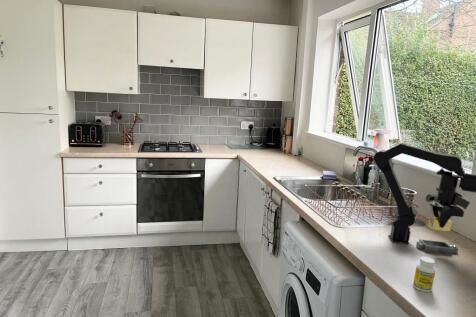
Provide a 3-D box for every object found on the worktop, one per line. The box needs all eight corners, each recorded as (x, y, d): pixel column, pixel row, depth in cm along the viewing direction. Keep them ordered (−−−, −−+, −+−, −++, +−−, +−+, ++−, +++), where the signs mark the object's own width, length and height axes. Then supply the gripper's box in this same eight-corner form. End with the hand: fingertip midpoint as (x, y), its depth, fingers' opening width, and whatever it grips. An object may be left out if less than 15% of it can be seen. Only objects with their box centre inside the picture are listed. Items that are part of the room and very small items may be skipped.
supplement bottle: (428, 284, 116) (433, 257, 114) (434, 293, 110) (440, 265, 109) (410, 281, 116) (415, 254, 114) (415, 290, 111) (421, 262, 109)
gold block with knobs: (431, 229, 140) (434, 218, 139) (427, 225, 144) (430, 215, 143) (450, 231, 140) (452, 220, 139) (445, 227, 143) (448, 216, 143)
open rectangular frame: (420, 251, 141) (422, 245, 140) (414, 244, 147) (415, 238, 147) (459, 255, 140) (460, 249, 140) (451, 248, 146) (452, 242, 146)
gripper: (483, 197, 129) (473, 237, 132) (456, 183, 147) (448, 219, 150) (451, 193, 130) (442, 234, 133) (428, 180, 148) (421, 216, 151)
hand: (439, 225), depth 142 cm, fingers closed on gold block with knobs, 3 cm apart
